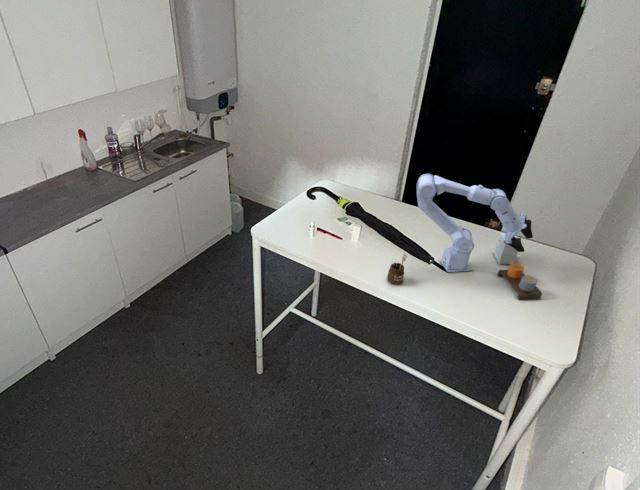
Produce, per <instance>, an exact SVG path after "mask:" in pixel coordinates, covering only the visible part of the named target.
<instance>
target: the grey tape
mask: <svg viewBox="0 0 640 490" xmlns="http://www.w3.org/2000/svg"><path fill="white" fill-rule="evenodd" d="M537 283H538V280H537V279H536V278H535V277H533V276H531V275H525V276H523V277H522V279H521V281H520V284H519V288H520V289H522V290H524V291H528V292H530V291H533V290H534V287H535V286H536V285H537Z"/></svg>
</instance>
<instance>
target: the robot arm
mask: <svg viewBox="0 0 640 490" xmlns="http://www.w3.org/2000/svg"><path fill="white" fill-rule="evenodd" d="M444 192H445V193H451V194H456V195H459V196H460V195H461V196H464V197H466V198H467V200H468V201H471V202H474V203H479V204H481V205H486V206H490V209H492V211H494V212H495V214H496V216H497V218H498V219H499V221H500V222H501V224H502V226H503V227H504V229H505V232H504V233H505V238H504V243H505V244H507V245H510V246H511V247H513V248H514V249H516V250H517V251H518V253H524V252H525V248H524V246H523V244H522V243H523V242H522V237H517V234H519V233H520V232H521V234H522V235H523V236H524V237H525V239H533V237H534V236H533V231H532V219H528V215H527V214H526V213H522V214H519V215H518V212H517V211H516V210H515V208H514V207H513V205H512V204H511V202H510V200H509V199H508V198H507V195H506V193H505V191H504V190H502V189H501V188H492V189H490V188H487V187H484V186H483V185H482V184H478V185H476V184H474V185H471V186H467V185H464V184H461V183H459V182H456V181H452V180H449V179H446V178H444V177H441V176H440V175H433V174H431V173H423V174H422V175H420V176H419V177H418V179H417V182H416V199H417V206H418V208H419V209H420V210H421V211H422V212H423V213H424V214H425V215H426V216H427V217H428V218H429V219H430V220H431V221H432V222H434V223H435V224H436V225H437V227H439V228H440V229H441V230H442V231H443V232H444V233H445V234H446V235H447V236H448V237H449V238H450V240H451V242H452V245H451V246H450V247H446V248H444V249H443V252H442V255H441V256H442V257H441V259H440V260H439V262H440V263H441V265H442V266H443V268H444V269H445V270H446V272H447V273H455V272H470V271H471V270H472V269H471V268H470V267H469V265H468V264H469V261H470V258H471V257H470V256H471V254H472V251H474V249H475V243H474V240H473V234H472V231H471V230H470V229H468V228H464V227H463V226H462V225H458V224H457V223H456V222H455V221H454V220H453V219H452V218H451V217H450V216H449V215H448V214H447V213H446V212H445V211H444V210H443V209H441V208H440V207H439V206H438V205H437V204H436V203H435V202H434V201H433V199H434V197H435V196H439V195H441V194H443V193H444ZM515 235H516V237H517V238H516V237H514V236H515Z"/></svg>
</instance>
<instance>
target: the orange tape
mask: <svg viewBox="0 0 640 490" xmlns="http://www.w3.org/2000/svg"><path fill="white" fill-rule="evenodd" d="M507 270H508V272H507V274H508V275H509V276H510V277H512V278H520V277H521V275H522V273H524V271H525V267H524V266H523V265H522V264H520V263H516V262H514V263H512V264H509V267H508V269H507Z"/></svg>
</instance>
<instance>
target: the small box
mask: <svg viewBox="0 0 640 490" xmlns="http://www.w3.org/2000/svg"><path fill="white" fill-rule="evenodd" d="M505 233H506V232H500V233H499V236H498V239H497V242H496V243H495V248H494V251H493V254H494V257H495V259H496V261H497V263H498V264H499V265H510V264H512V263H515V260H516V258H517V255H518V254H519V252H518V251H517V250H516V249H514V248H513V247H511V246H510V245H507V244H505V243H504V238H505ZM514 237H516V238H518V237H517V234H516V235H515V236H514Z"/></svg>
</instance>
